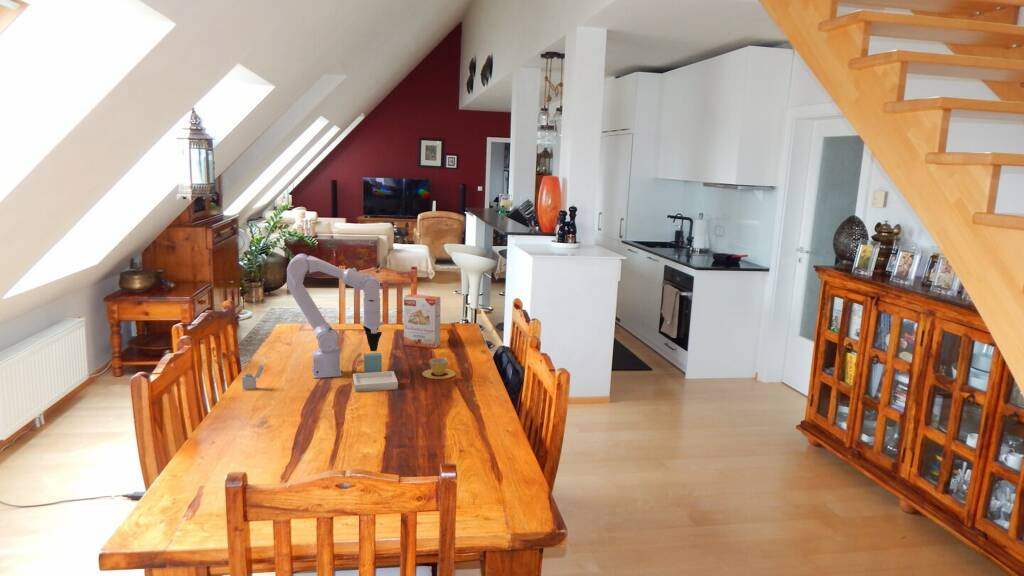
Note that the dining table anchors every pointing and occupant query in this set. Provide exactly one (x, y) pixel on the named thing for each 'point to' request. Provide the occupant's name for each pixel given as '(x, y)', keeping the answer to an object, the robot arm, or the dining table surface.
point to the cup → (438, 369)
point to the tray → (375, 381)
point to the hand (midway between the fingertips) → (372, 347)
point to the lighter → (251, 379)
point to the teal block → (372, 362)
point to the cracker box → (422, 321)
